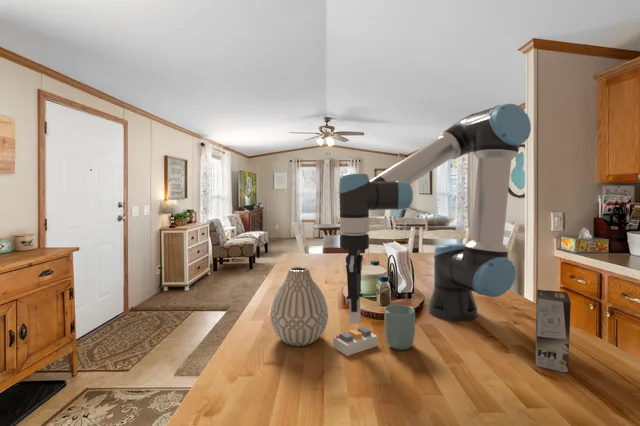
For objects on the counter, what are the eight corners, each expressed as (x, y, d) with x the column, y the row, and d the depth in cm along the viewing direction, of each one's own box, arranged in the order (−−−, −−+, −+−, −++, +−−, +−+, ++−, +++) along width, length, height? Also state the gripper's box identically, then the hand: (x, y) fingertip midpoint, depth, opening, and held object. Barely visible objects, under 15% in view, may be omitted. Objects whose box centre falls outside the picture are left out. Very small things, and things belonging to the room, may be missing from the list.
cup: (416, 354, 87) (416, 315, 86) (384, 352, 88) (384, 313, 87) (414, 341, 94) (414, 305, 94) (384, 339, 96) (384, 303, 95)
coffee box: (569, 373, 77) (571, 302, 76) (535, 366, 80) (536, 297, 79) (566, 356, 84) (568, 291, 83) (535, 350, 88) (536, 288, 87)
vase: (283, 358, 86) (282, 278, 84) (263, 335, 100) (261, 266, 98) (339, 344, 93) (338, 270, 92) (312, 324, 107) (311, 260, 106)
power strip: (362, 339, 97) (362, 324, 97) (377, 347, 92) (377, 331, 92) (333, 348, 92) (333, 332, 91) (347, 357, 86) (346, 340, 86)
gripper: (343, 230, 97) (344, 312, 99) (335, 236, 84) (336, 331, 86) (370, 230, 95) (371, 314, 97) (366, 236, 83) (366, 333, 84)
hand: (354, 322), depth 91 cm, fingers closed
